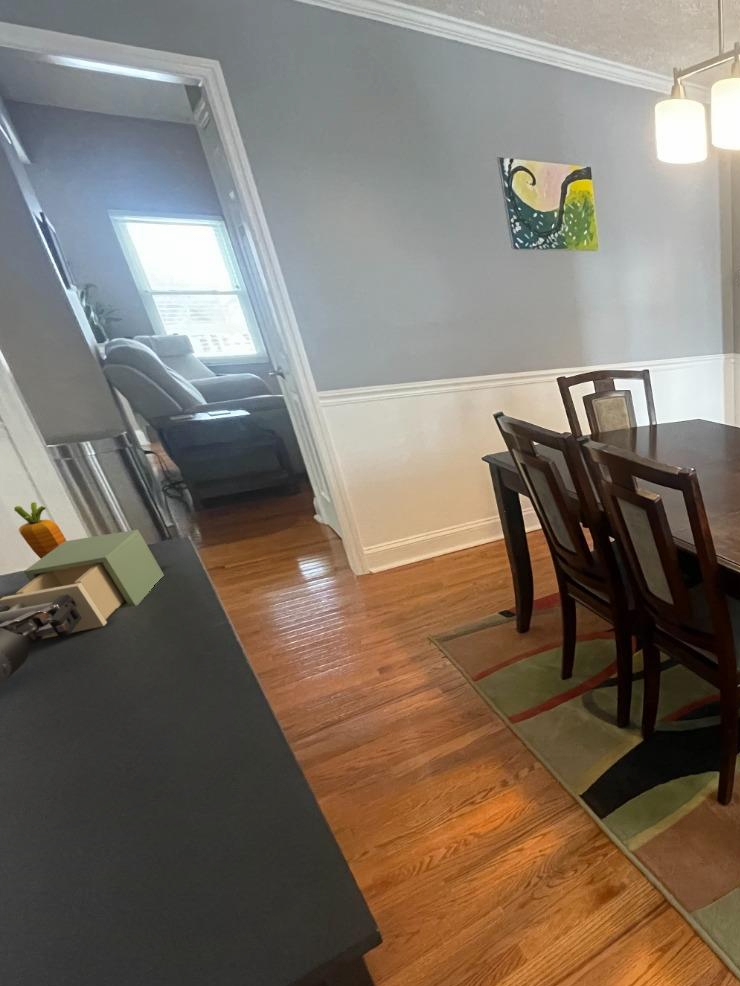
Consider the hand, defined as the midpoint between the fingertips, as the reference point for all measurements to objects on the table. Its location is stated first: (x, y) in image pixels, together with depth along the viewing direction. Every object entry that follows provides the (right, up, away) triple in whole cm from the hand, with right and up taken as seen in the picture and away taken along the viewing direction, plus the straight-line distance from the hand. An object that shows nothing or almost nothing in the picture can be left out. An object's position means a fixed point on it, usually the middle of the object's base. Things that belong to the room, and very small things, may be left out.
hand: (39, 606), depth 88 cm
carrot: (-23, +4, +25) cm, 34 cm away
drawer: (-2, -4, +7) cm, 8 cm away
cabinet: (-6, 0, +17) cm, 18 cm away
